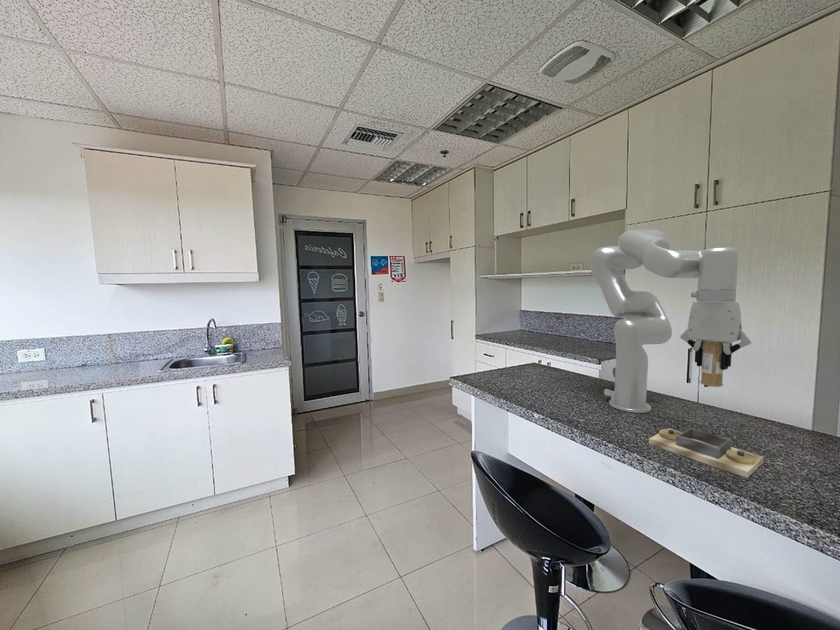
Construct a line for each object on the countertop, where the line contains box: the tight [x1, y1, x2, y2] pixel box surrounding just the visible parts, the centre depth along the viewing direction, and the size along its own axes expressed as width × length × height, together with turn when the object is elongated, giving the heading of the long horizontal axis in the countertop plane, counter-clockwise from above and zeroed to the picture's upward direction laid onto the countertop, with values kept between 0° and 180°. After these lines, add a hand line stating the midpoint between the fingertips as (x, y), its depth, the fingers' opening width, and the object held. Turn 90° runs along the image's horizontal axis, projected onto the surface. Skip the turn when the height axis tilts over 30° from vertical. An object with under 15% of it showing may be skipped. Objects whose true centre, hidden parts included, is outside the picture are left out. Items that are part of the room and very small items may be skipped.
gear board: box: [648, 427, 765, 479], centre depth 89 cm, size 20×12×4 cm, turn 33°
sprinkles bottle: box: [699, 341, 724, 388], centre depth 90 cm, size 5×5×13 cm
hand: (712, 366), depth 90 cm, fingers closed on sprinkles bottle, 4 cm apart
